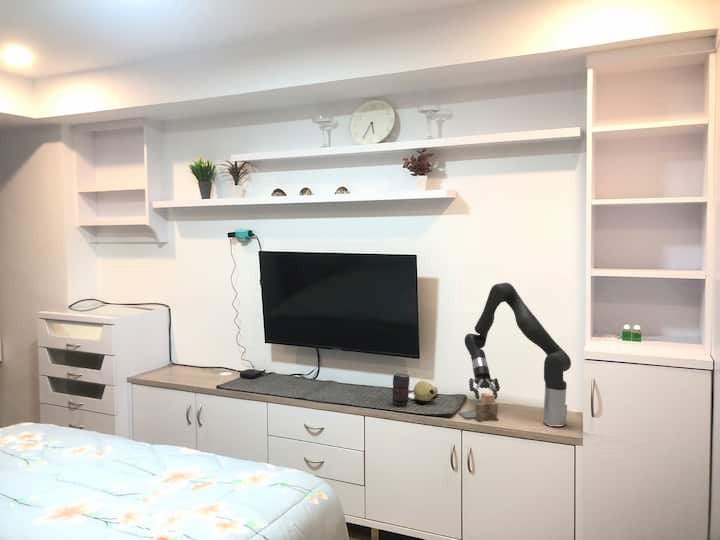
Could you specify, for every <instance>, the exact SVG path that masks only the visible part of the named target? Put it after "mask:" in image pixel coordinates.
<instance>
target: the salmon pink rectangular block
mask: <svg viewBox="0 0 720 540" xmlns="http://www.w3.org/2000/svg"><path fill="white" fill-rule="evenodd" d="M495 401H496V399H495V395H493V392H492V393H491V392H481V402H480V404H485V403H496V402H495Z"/></svg>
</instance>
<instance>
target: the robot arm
mask: <svg viewBox="0 0 720 540" xmlns="http://www.w3.org/2000/svg"><path fill="white" fill-rule="evenodd" d="M518 293H519V292H518V291H517V290H516V289H515V287H514V286H513V285H512V284H511V283H509V282H500V283H496V284H494V285H493V286H491V288H490V291H489V293H488V297H487V299H486V302H485V305H484V308H483V311H482V313H481V315H480V317H479V318H478V320H477V322H476V324H475V326H474V331H475V332H476V333H467V334H466V335H465V337H464V345H465V347H466V350H467V351H468V354H469V356H470V359H471V363H472V371H473V375H474V376H473V377H474V379H473V378H472V377H470V379H469V381H468V385H469V391H470V392H473V393H474V397H475V399H477V400H479V399H480V394H479V393H480V392H479V388H480V389H489V390H490V391H491V392H492V394H493V395H495V400H497V398H498V397H499V396H498V392H500V388H501V387H500V384H499V380H498V378H496V377H495V378H494V379H492V378H491V374H490V370H489V369H490V368H489V366H488V365H489V364H488V362H487V358H486V357H487V356H486V354H485V351H484V350H483V348H484V347H486V342H487V337H488V334H489V331H490V329H491V327H492V326H493V324H494V321H495V313H496V311H497V309H498V308H499V306H500V305H501V303H504V302H505V303H506V304H507V305H508V307H510V309H511V310H512V312H513V313H514V317H515V318H514V319H515V323H516V326H517V327H518V329H519V330H520V331H521V333H522V334H523V335H524V336H525V337H526V338H527V339H528V340H529V341H531V342H532V343H533V344H534V345H536V346H537V347H539V348H540V349H541V350H542V351H543V352H544V354H545V355H546V357H545V359H544V363H543V380H544V382H545V383H544V400H543V413H542V414H543V416H542V423H543V422H544V423H546V424H549V425H563V424H566V425H567V413H568V404H566V400H567V399H566V398H567V382H566V381H565V380H564V372H566V371H569V370H570V368H571V366H572V361H571V358H570V356H569V354H567V352H566V351H565V350H564V349H563V348H562V347H561V346H560V345H559V344H558V343H557V342H556V341H555V340H554V339H553V337H552V336H551V335H550V334H549V333H548V331H547V330H546V329H545V328H544V326H543V325H542V323H541V322H540V320H539V319H538V318H537V317H536V316H535V315H534V314H533V312H532V311H531V309H529V307H528V306H527V305H526V303H525V302H524V301H523V299H522V297H520V295H519V294H518ZM479 334H480V335H479ZM474 383H475V384H476V387H474Z"/></svg>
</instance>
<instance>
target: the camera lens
mask: <svg viewBox="0 0 720 540" xmlns="http://www.w3.org/2000/svg"><path fill="white" fill-rule="evenodd" d="M409 389H410V375H409V374H407V373H403V372H398V373H394V374H393V376H392V390H391V391H392V394H391V395H392V396H391V397H392V402H393V406H395V407H401V408H402V407H406V406H407V405H408V402H409Z"/></svg>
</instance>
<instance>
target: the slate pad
mask: <svg viewBox="0 0 720 540" xmlns="http://www.w3.org/2000/svg"><path fill="white" fill-rule="evenodd" d="M457 414H458V416H460V417H462V418H463V419H464V420H475V417H476V411H474V410H472V411H471V410H468V411H458V412H457Z"/></svg>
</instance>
